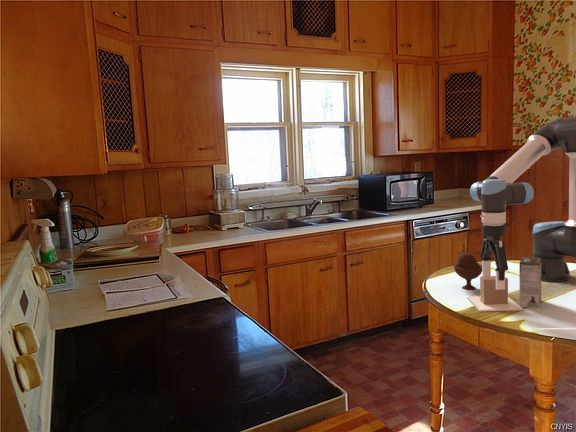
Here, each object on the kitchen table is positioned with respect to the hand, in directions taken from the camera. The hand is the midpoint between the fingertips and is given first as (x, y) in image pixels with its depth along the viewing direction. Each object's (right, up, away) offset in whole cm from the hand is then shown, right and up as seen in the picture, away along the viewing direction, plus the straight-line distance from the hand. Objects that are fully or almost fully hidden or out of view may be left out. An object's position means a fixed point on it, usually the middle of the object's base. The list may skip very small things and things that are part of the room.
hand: (493, 283), depth 153 cm
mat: (+1, -8, +1) cm, 8 cm away
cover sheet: (+1, -7, +1) cm, 8 cm away
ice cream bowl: (0, -6, +20) cm, 21 cm away
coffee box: (+13, -7, -1) cm, 15 cm away
